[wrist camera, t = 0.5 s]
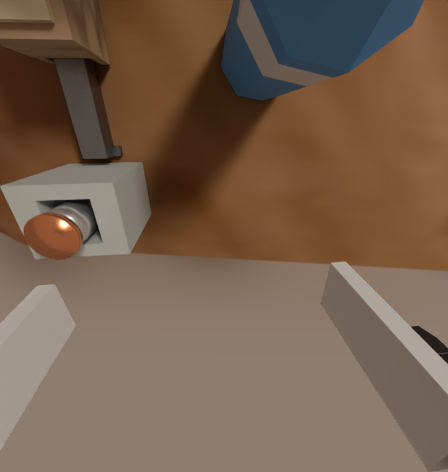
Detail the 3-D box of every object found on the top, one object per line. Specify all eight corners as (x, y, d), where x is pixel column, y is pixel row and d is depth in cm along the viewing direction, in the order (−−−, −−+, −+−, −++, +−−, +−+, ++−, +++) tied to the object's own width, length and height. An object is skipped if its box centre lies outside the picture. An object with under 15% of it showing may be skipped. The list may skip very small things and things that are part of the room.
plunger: (56, 195, 24) (14, 216, 18) (98, 193, 24) (69, 214, 19) (69, 232, 26) (35, 260, 20) (109, 230, 26) (85, 258, 21)
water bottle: (228, 109, 29) (308, 74, 7) (211, 17, 25) (285, -743, 3) (296, 92, 29) (588, 4, 7) (291, -4, 25) (996, -976, 3)
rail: (32, -33, 22) (9, -54, 19) (84, -31, 23) (68, -51, 20) (85, 155, 30) (74, 159, 28) (122, 155, 31) (115, 158, 28)
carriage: (27, -9, 23) (-77, -86, 14) (97, -7, 23) (38, -80, 15) (49, 64, 25) (-27, 35, 17) (111, 64, 26) (68, 37, 18)
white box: (66, 163, 31) (-5, 186, 20) (142, 162, 32) (112, 182, 21) (83, 216, 34) (31, 259, 24) (151, 214, 35) (130, 253, 25)
